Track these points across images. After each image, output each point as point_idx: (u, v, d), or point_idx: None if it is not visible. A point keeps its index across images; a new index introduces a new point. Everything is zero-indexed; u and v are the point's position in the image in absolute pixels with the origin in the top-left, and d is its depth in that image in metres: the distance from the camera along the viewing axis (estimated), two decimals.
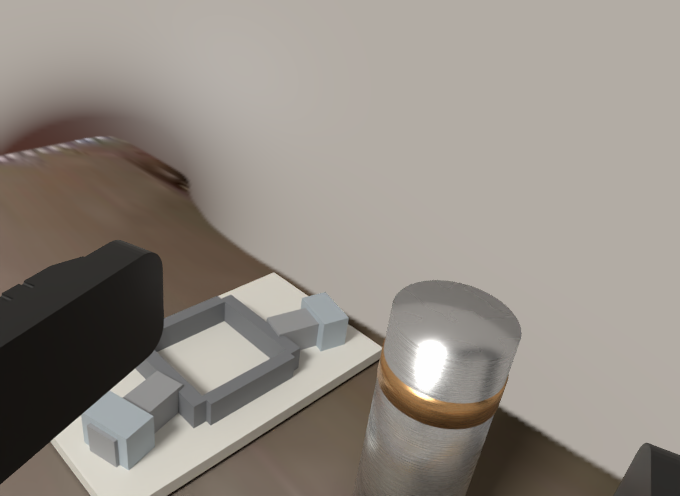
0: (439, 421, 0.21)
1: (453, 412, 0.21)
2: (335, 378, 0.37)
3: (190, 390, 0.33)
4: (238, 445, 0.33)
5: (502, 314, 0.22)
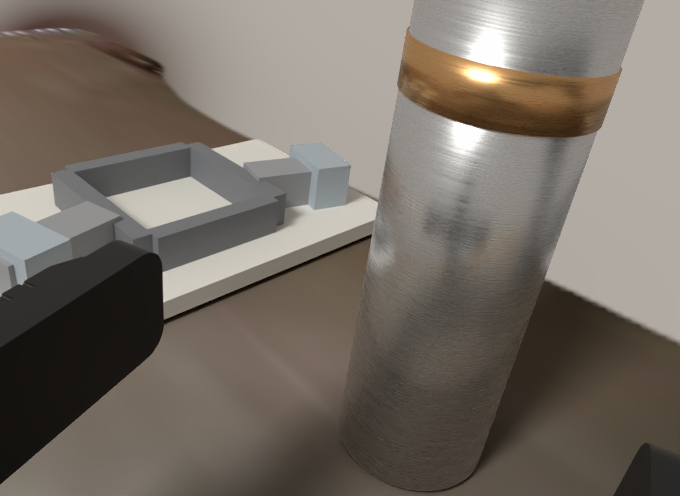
0: (509, 118, 0.12)
1: (536, 95, 0.12)
2: (333, 236, 0.28)
3: (131, 223, 0.24)
4: (197, 299, 0.24)
5: None
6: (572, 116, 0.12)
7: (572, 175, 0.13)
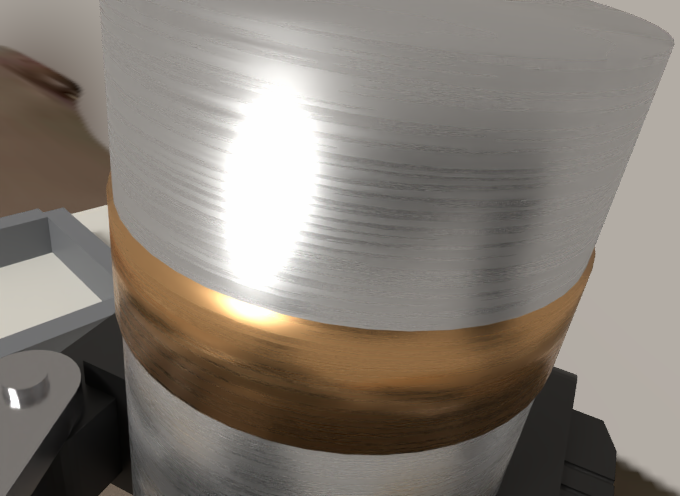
0: (299, 419, 0.05)
1: (358, 376, 0.04)
2: None
3: None
4: None
5: (575, 4, 0.06)
6: (465, 404, 0.05)
7: (486, 482, 0.06)
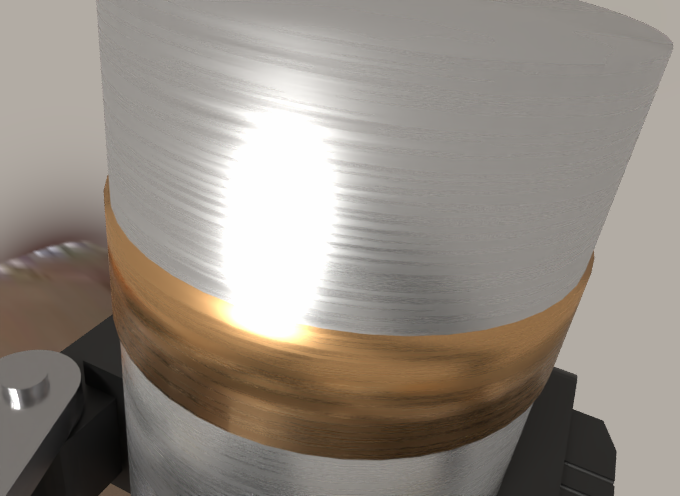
0: (297, 424, 0.05)
1: (355, 381, 0.04)
2: None
3: None
4: None
5: (573, 7, 0.06)
6: (463, 409, 0.05)
7: (484, 486, 0.06)
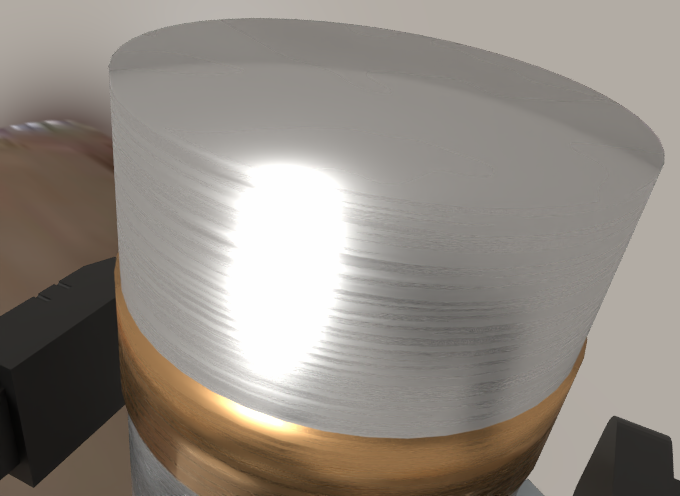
0: None
1: (357, 477, 0.05)
2: None
3: None
4: None
5: (570, 95, 0.06)
6: None
7: None
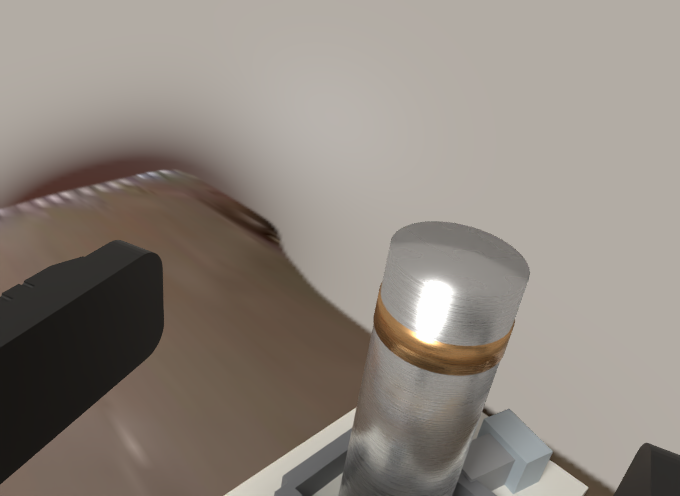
0: (439, 366, 0.20)
1: (454, 355, 0.19)
2: None
3: None
4: None
5: (510, 255, 0.21)
6: (478, 363, 0.20)
7: (483, 388, 0.21)
